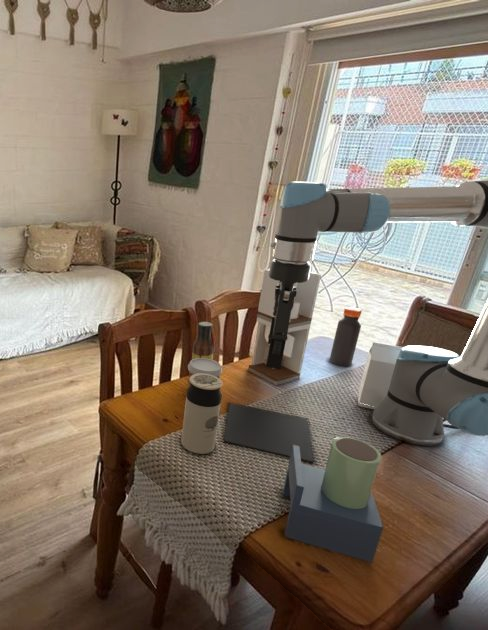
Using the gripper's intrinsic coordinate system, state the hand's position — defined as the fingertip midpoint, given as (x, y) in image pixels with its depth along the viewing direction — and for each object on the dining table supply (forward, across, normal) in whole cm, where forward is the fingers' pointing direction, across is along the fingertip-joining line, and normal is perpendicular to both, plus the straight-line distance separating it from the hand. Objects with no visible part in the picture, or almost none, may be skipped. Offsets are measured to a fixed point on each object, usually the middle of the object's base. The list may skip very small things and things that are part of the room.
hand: (273, 355), depth 97 cm
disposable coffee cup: (+27, -20, -16) cm, 37 cm away
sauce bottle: (+27, -32, -18) cm, 45 cm away
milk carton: (+27, -40, +30) cm, 57 cm away
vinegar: (+27, -69, +25) cm, 78 cm away
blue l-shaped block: (+26, +17, +13) cm, 34 cm away
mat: (+26, -12, +2) cm, 29 cm away
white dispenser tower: (+27, -48, +3) cm, 55 cm away
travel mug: (+27, +2, -13) cm, 30 cm away
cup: (+18, +17, +15) cm, 29 cm away
